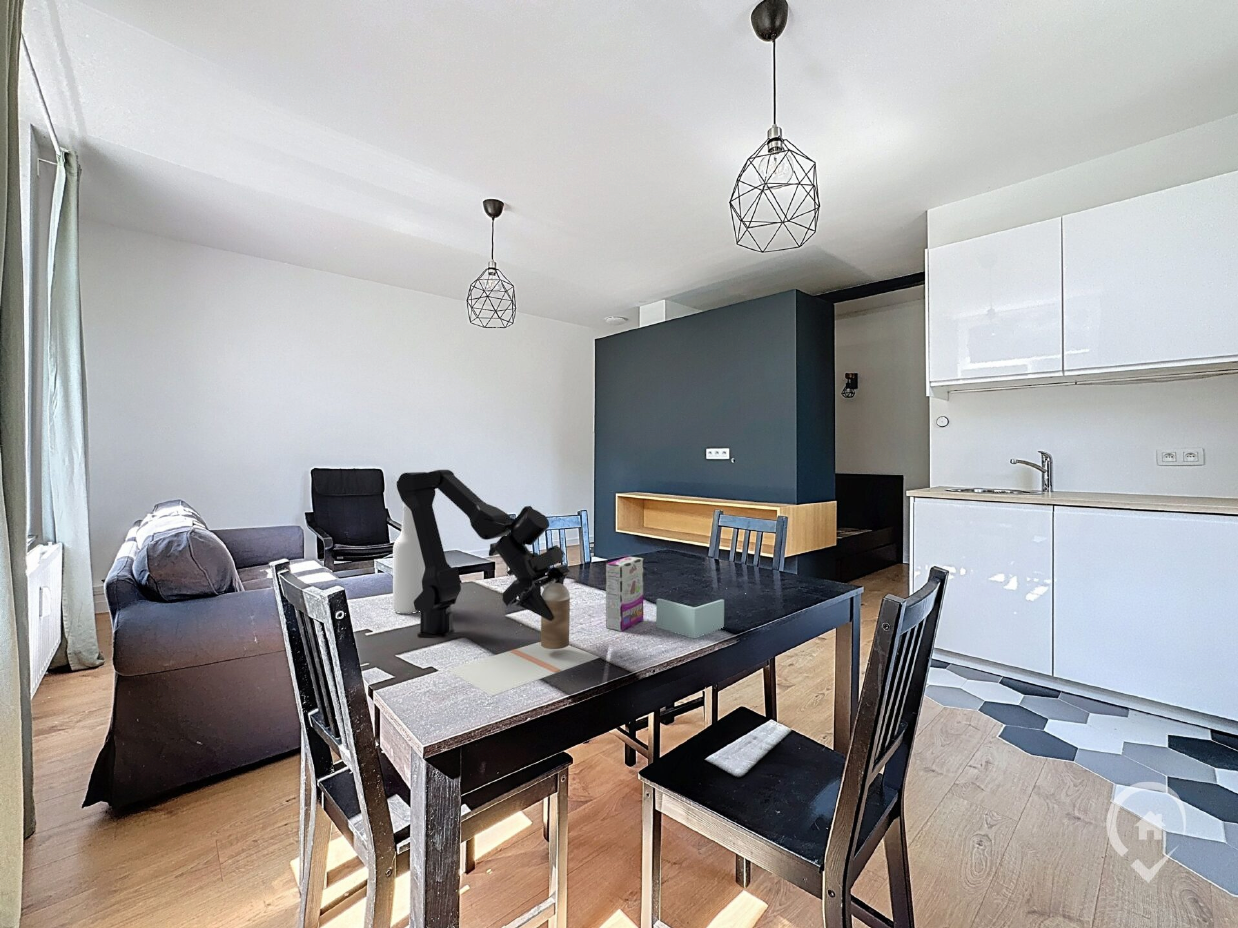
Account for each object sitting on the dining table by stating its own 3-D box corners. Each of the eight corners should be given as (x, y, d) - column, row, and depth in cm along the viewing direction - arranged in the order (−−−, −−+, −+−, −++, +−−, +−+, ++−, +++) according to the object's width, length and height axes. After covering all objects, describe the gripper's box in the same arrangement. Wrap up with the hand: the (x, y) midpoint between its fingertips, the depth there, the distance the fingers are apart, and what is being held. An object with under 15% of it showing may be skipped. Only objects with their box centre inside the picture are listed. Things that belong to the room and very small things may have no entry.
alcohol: (393, 616, 142) (393, 502, 142) (392, 607, 150) (392, 499, 150) (428, 612, 146) (428, 501, 145) (426, 604, 154) (426, 499, 153)
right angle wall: (723, 629, 136) (724, 599, 136) (694, 640, 127) (694, 609, 127) (686, 619, 144) (686, 591, 144) (656, 628, 136) (656, 599, 136)
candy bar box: (627, 617, 144) (628, 555, 143) (643, 620, 141) (644, 557, 141) (604, 628, 134) (604, 562, 134) (621, 632, 131) (622, 565, 131)
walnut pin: (544, 650, 111) (545, 587, 111) (537, 640, 117) (538, 581, 116) (572, 646, 114) (573, 585, 113) (564, 637, 119) (565, 579, 119)
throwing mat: (491, 700, 94) (491, 694, 94) (446, 673, 106) (447, 668, 106) (599, 660, 113) (599, 656, 113) (551, 641, 124) (551, 637, 124)
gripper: (514, 540, 108) (561, 603, 103) (563, 529, 125) (605, 582, 120) (482, 575, 112) (526, 637, 107) (534, 560, 128) (574, 612, 124)
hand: (560, 615), depth 114 cm, fingers closed on walnut pin, 6 cm apart
